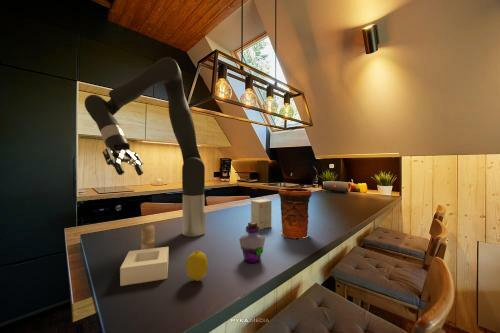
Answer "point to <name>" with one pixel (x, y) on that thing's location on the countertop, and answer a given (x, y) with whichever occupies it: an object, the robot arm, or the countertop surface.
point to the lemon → (197, 265)
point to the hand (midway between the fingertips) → (132, 174)
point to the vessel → (294, 211)
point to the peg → (147, 237)
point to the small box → (261, 213)
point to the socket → (144, 266)
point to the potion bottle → (252, 244)
